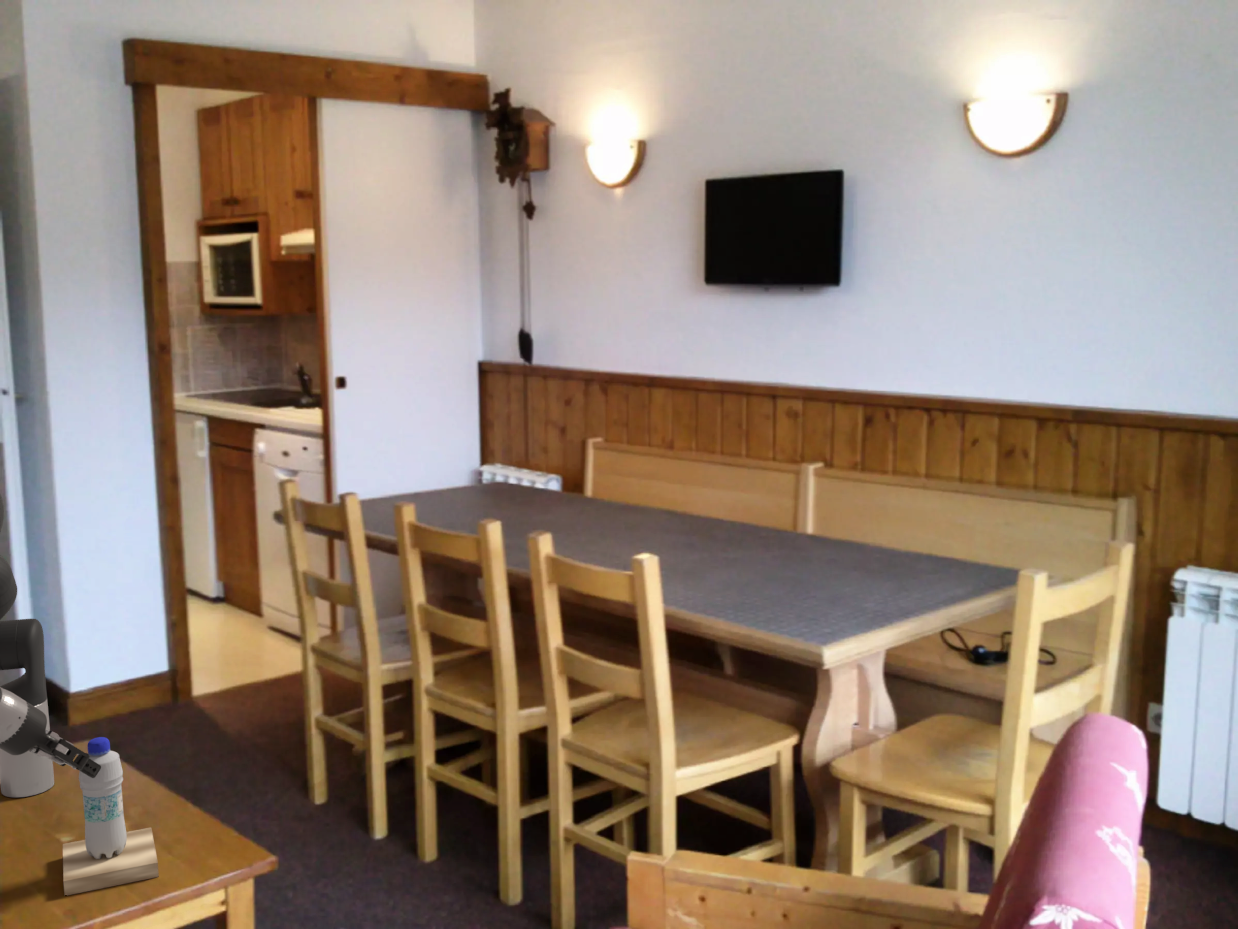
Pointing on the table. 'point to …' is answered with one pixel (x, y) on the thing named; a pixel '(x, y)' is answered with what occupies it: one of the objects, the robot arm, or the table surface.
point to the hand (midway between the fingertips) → (81, 766)
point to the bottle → (103, 802)
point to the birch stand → (109, 864)
